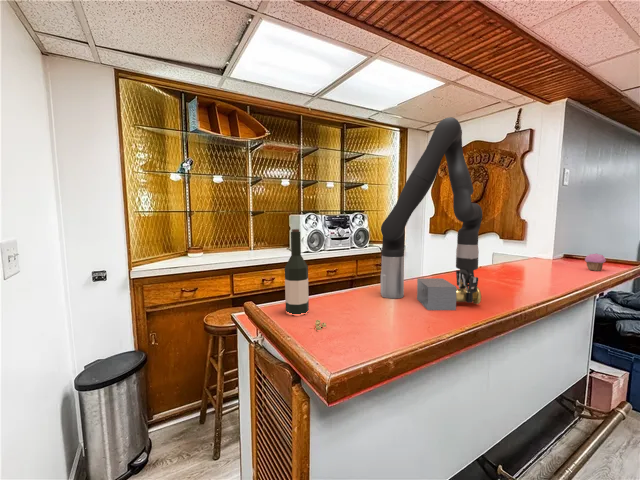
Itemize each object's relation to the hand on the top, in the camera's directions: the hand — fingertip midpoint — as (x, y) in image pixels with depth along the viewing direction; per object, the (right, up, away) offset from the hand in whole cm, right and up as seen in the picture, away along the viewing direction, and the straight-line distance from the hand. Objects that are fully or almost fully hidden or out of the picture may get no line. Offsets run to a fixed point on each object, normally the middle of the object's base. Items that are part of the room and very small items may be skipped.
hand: (465, 300), depth 113 cm
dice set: (-56, -5, -21) cm, 60 cm away
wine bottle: (-64, -3, -6) cm, 64 cm away
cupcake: (+105, +5, +60) cm, 121 cm away
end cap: (-2, -1, 0) cm, 3 cm away
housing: (-11, -2, +1) cm, 12 cm away
